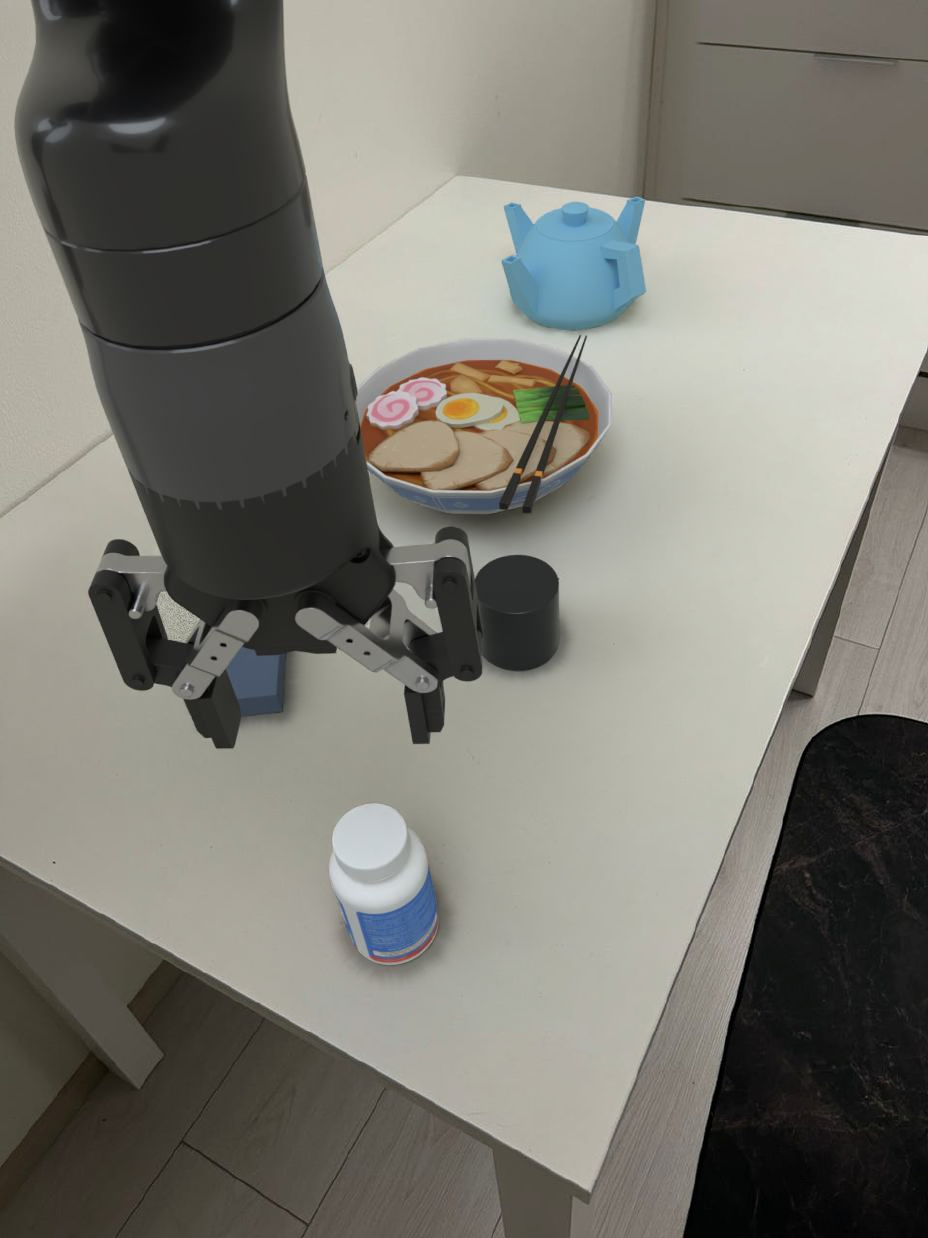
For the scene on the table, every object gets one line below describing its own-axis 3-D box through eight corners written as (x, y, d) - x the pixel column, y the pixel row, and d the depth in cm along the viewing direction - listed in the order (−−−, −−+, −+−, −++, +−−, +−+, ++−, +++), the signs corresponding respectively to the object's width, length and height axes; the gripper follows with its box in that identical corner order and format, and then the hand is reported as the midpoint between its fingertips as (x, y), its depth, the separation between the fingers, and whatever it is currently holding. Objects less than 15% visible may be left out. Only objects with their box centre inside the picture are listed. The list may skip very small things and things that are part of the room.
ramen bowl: (409, 386, 98) (399, 311, 92) (635, 413, 92) (641, 335, 86) (307, 549, 81) (288, 471, 75) (574, 595, 75) (576, 514, 70)
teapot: (497, 340, 103) (492, 241, 95) (506, 272, 113) (503, 178, 105) (644, 338, 101) (651, 237, 93) (639, 270, 111) (646, 173, 103)
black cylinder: (468, 662, 71) (462, 605, 67) (491, 606, 75) (487, 548, 71) (548, 677, 70) (547, 620, 66) (567, 619, 74) (567, 561, 69)
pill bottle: (457, 909, 58) (443, 821, 51) (404, 985, 55) (382, 902, 48) (384, 867, 60) (361, 776, 53) (329, 937, 57) (297, 851, 50)
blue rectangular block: (282, 712, 69) (276, 694, 68) (212, 719, 69) (205, 702, 68) (288, 622, 76) (282, 604, 74) (224, 628, 76) (217, 611, 74)
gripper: (-21, 504, 29) (146, 807, 40) (459, 483, 28) (489, 800, 39) (58, 367, 34) (186, 670, 46) (464, 345, 33) (489, 661, 45)
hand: (326, 730), depth 42 cm, fingers open, 8 cm apart
